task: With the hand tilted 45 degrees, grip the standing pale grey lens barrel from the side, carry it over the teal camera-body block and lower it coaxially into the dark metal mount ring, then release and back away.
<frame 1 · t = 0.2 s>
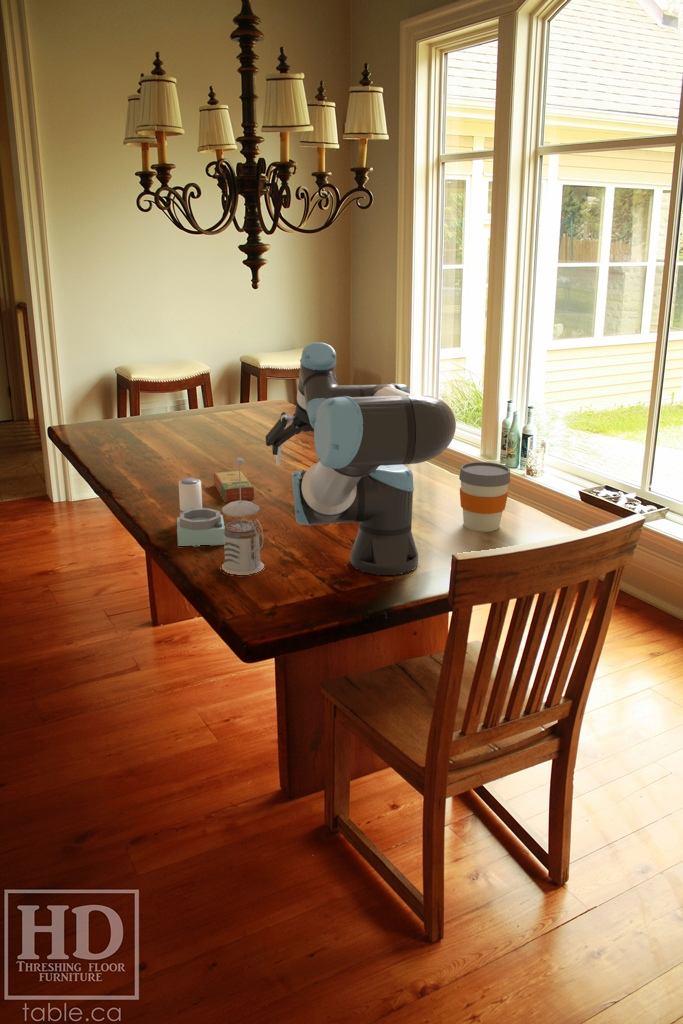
hand: (305, 461, 208), 16 cm above the table, tool tilted 35°, fingers open, 13 cm apart
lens: (192, 523, 212), on the table
body block: (201, 538, 202), on the table
reusable coffee cup: (481, 526, 213), on the table
french press: (245, 569, 186), on the table
carton: (233, 494, 237), on the table
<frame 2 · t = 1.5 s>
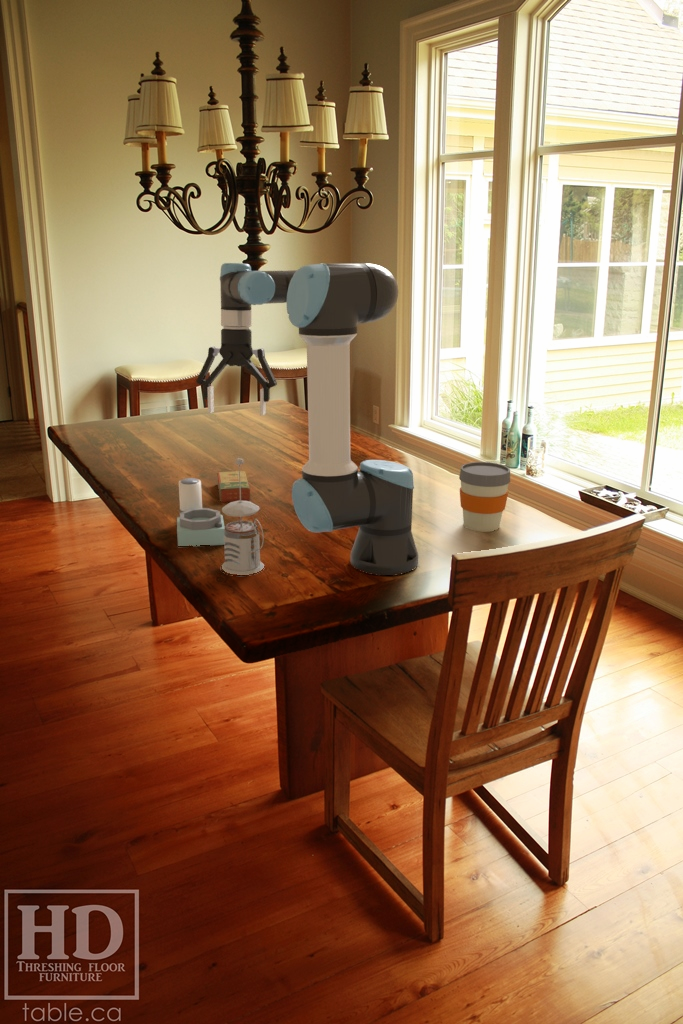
hand: (236, 413, 214), 26 cm above the table, tool pointing down, fingers open, 13 cm apart
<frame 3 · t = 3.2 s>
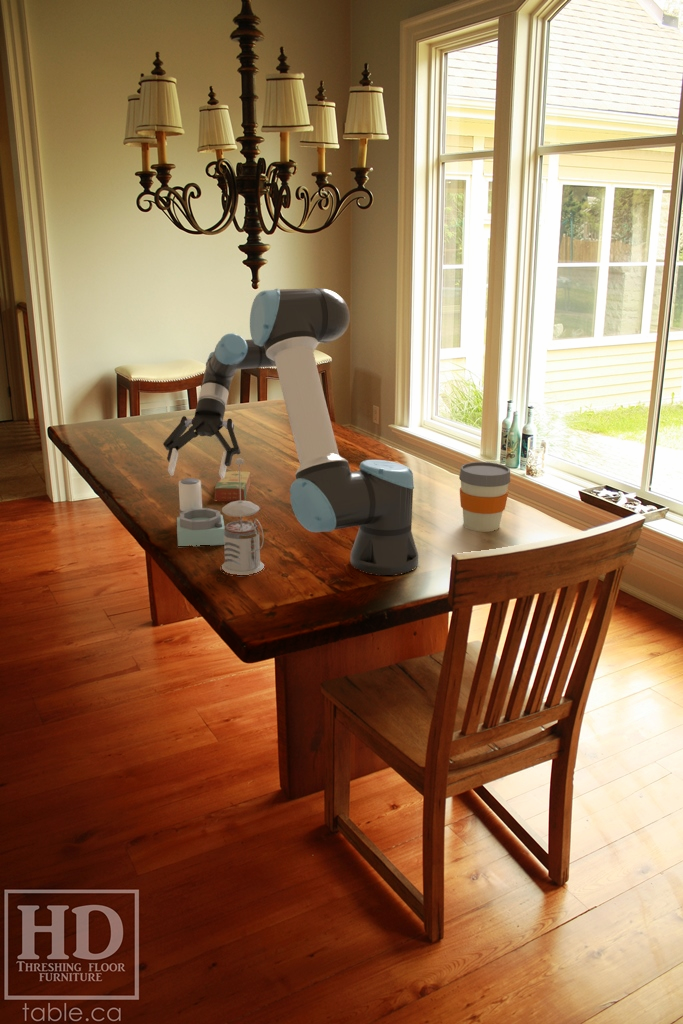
hand: (195, 474, 215), 11 cm above the table, tool tilted 45°, fingers open, 13 cm apart
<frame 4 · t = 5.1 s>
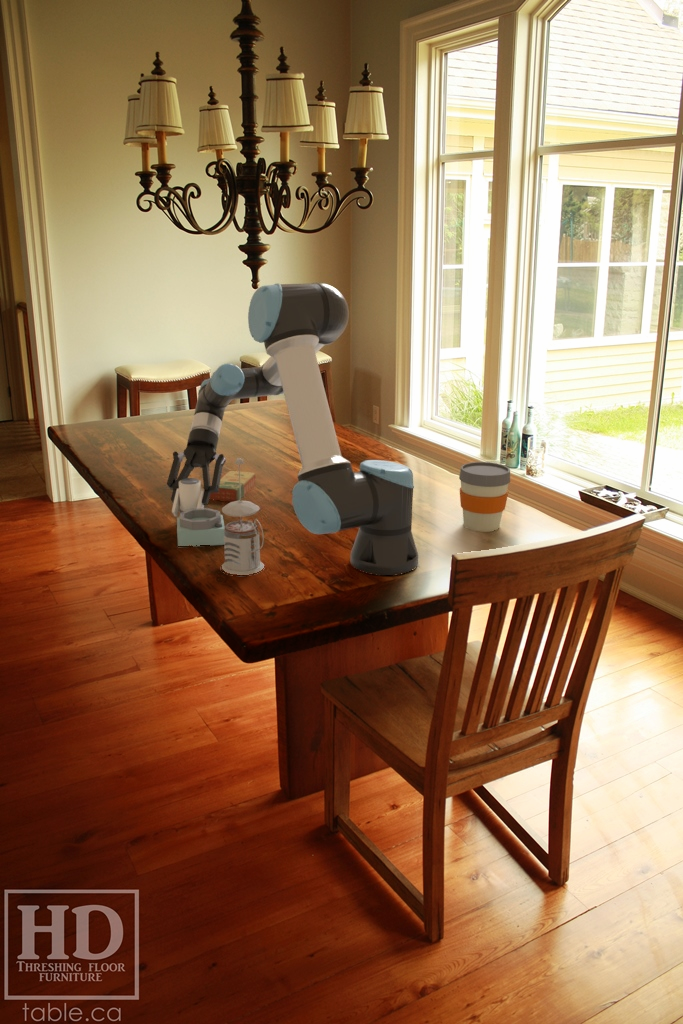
hand: (186, 514, 208), 4 cm above the table, tool tilted 45°, fingers closed on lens, 5 cm apart
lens: (192, 523, 212), on the table, touching gripper
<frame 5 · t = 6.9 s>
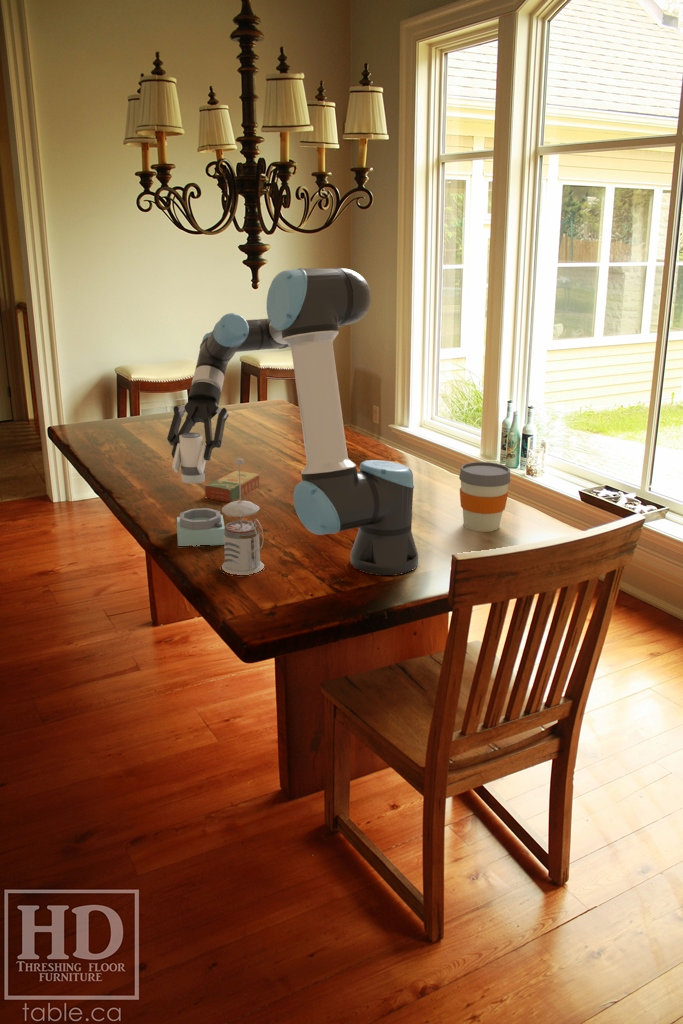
hand: (187, 470, 199), 17 cm above the table, tool tilted 45°, fingers closed on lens, 5 cm apart
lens: (193, 480, 203), point 13 cm above the table, touching gripper
when the fingers open (9 cm above the table, at t = 9.0 s): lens drops 2 cm, resting on body block.
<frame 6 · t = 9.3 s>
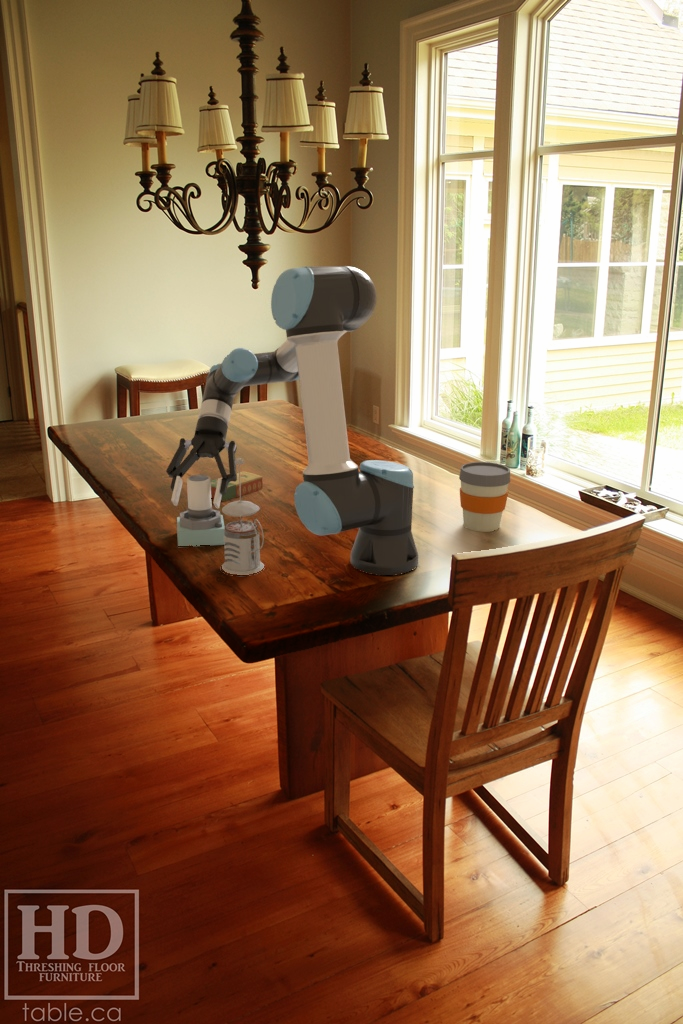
hand: (195, 504, 196), 10 cm above the table, tool tilted 45°, fingers open, 9 cm apart
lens: (200, 522, 201), point 4 cm above the table, touching body block
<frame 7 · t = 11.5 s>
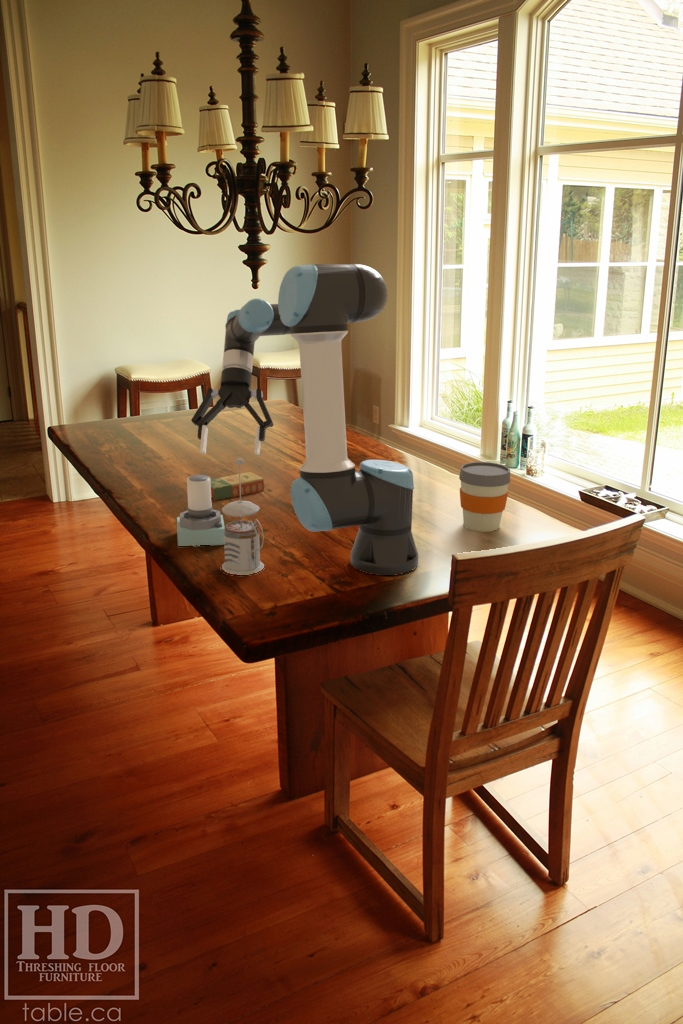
hand: (229, 452, 206), 18 cm above the table, tool tilted 30°, fingers open, 13 cm apart
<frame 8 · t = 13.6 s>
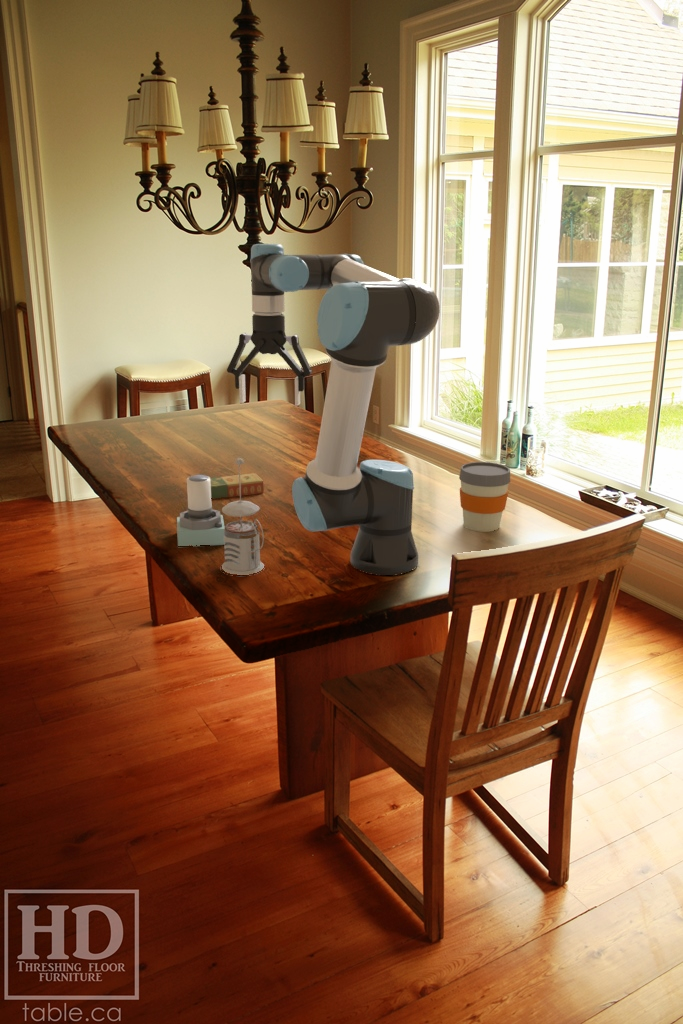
hand: (270, 403, 203), 31 cm above the table, tool pointing down, fingers open, 13 cm apart
at the end: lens 0.1 cm off-centre on the body block, point 4.0 cm above the body block's base; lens tilted 0°; the gripper is holding nothing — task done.
